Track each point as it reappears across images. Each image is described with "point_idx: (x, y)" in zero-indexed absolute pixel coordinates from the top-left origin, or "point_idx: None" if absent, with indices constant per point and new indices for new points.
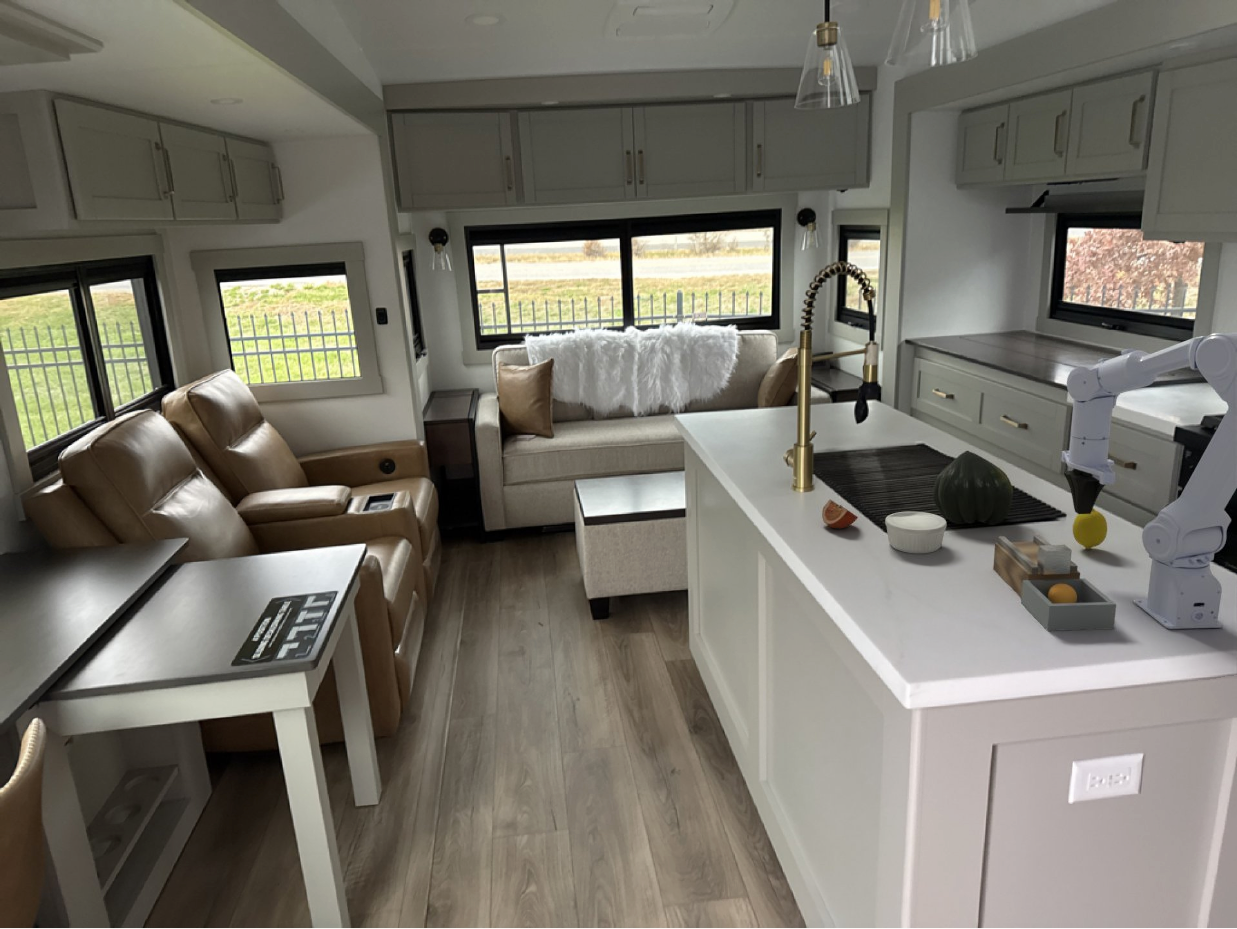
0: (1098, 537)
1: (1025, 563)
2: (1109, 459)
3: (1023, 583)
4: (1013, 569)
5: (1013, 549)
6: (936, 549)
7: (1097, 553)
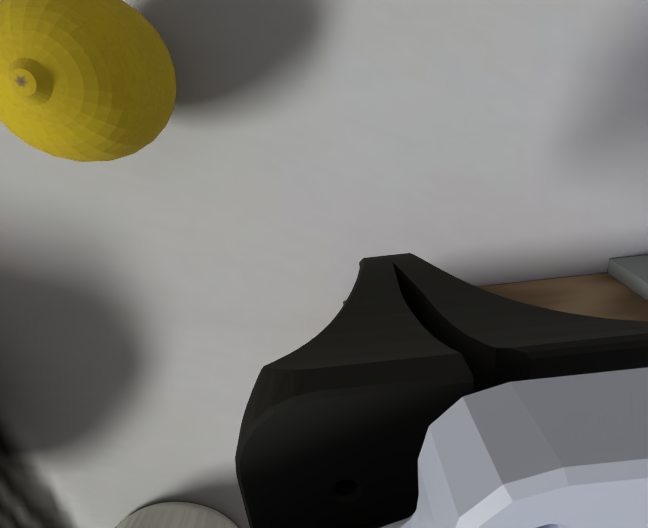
0: (169, 59)
1: None
2: (545, 498)
3: None
4: None
5: None
6: (219, 514)
7: (177, 51)
